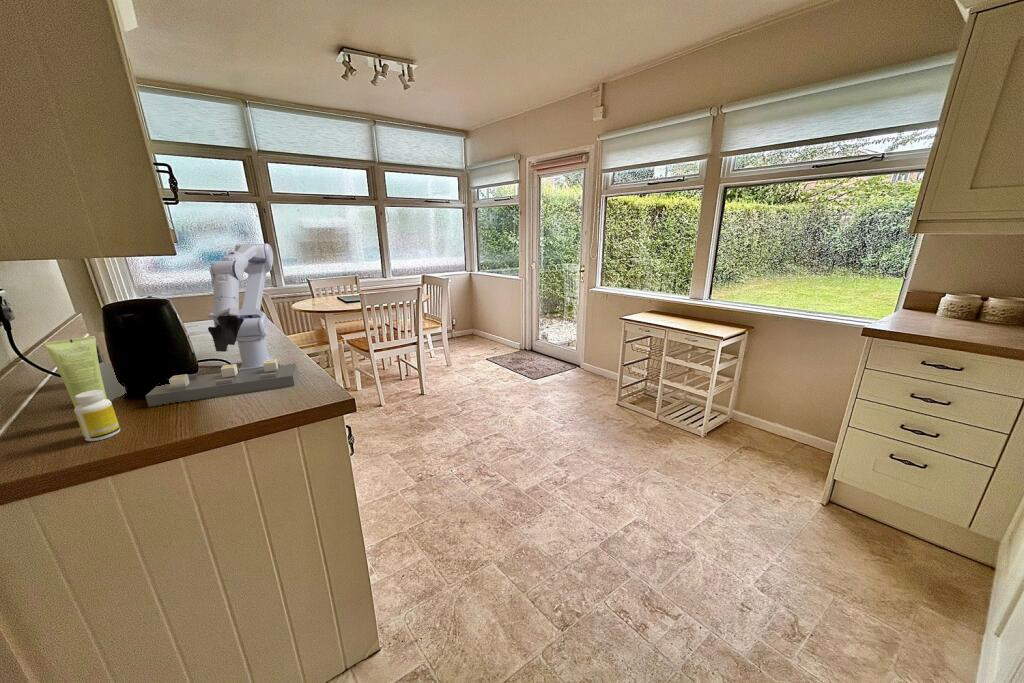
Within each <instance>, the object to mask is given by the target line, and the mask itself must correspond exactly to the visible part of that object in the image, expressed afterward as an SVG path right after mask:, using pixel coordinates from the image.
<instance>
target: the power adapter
mask: <svg viewBox="0 0 1024 683" xmlns="http://www.w3.org/2000/svg"><path fill="white" fill-rule="evenodd" d="M100 354H101V357H102V360H103V362H102V363H99V367H100V372H101V376H102V381H103V385H104V389H105V393H106V397H107V399H108V400H113V399H114V398H117V397H120V396H122V395H124V394H125V393H126V394H127V391H126V388H125V386H124V387H123V386H122V385H121V384H120V383H119V382H118V380H117V378H116V375H115V372H114V368H113V365H112V362H111V361H109V360H108V361H106V360H105V357H104V353H100ZM113 401H114V400H113Z"/></svg>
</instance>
